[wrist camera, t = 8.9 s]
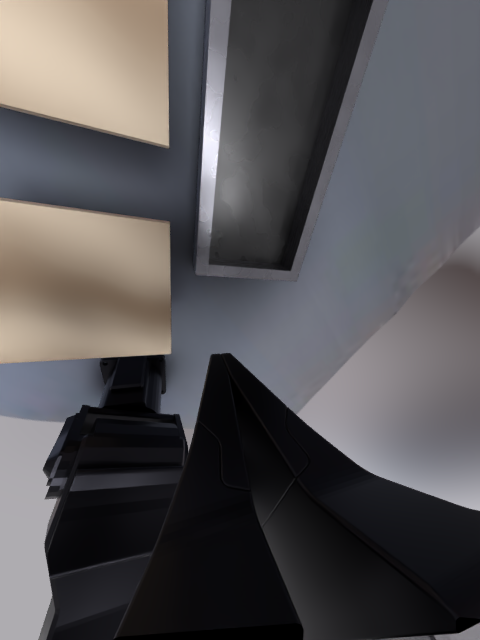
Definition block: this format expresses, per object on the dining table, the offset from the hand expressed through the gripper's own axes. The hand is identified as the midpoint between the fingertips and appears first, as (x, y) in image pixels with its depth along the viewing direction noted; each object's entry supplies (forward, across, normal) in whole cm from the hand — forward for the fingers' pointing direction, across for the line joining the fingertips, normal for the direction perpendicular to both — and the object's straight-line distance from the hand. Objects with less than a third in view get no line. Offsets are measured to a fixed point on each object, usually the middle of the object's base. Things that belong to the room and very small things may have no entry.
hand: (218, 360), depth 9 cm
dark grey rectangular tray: (+13, -5, -10) cm, 17 cm away
